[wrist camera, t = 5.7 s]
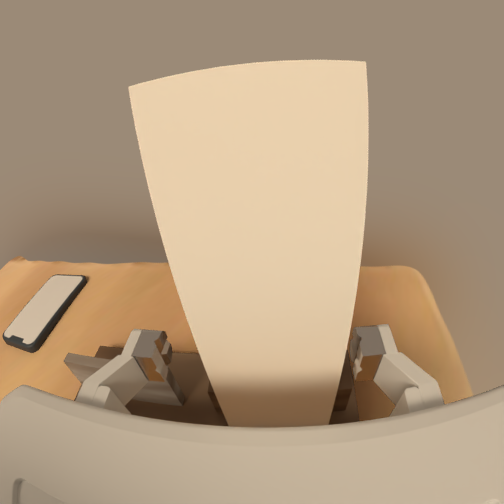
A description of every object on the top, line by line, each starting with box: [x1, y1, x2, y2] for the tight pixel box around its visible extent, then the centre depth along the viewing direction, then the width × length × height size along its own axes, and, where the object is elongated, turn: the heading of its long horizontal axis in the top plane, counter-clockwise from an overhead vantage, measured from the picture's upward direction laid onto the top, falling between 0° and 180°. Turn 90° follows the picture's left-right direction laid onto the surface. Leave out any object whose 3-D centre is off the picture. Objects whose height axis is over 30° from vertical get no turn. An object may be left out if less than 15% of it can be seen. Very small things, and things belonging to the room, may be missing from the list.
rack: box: [64, 346, 359, 426], centre depth 20 cm, size 14×25×6 cm, turn 86°
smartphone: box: [3, 275, 87, 353], centre depth 35 cm, size 9×2×16 cm
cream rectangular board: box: [129, 60, 368, 428], centre depth 13 cm, size 2×6×22 cm, turn 86°
